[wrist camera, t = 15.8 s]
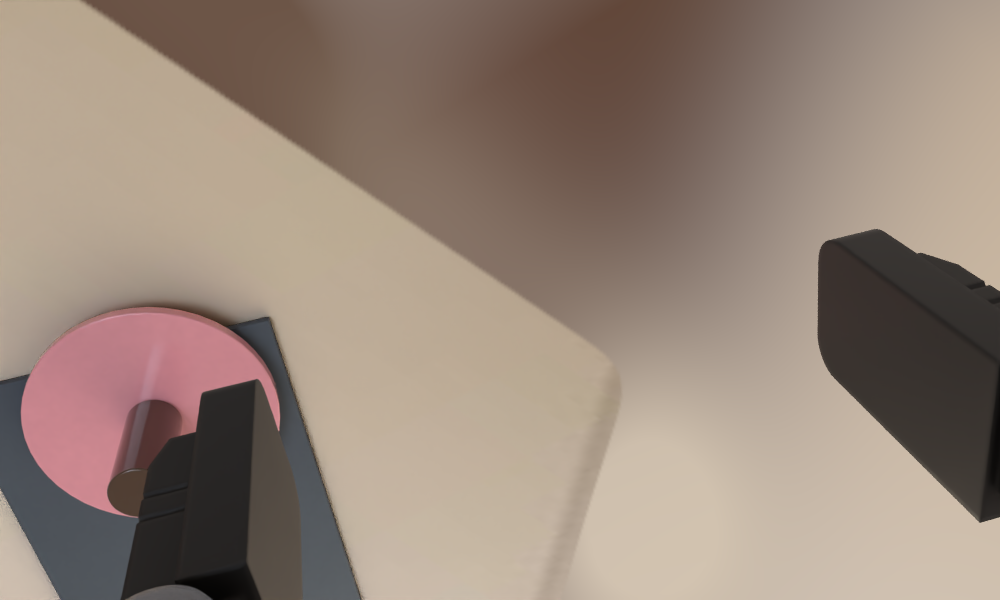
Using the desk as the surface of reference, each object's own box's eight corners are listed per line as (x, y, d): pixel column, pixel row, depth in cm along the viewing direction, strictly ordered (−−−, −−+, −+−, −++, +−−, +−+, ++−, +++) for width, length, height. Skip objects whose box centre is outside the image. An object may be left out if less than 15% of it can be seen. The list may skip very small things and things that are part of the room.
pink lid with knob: (-16, 334, 39) (-65, 417, 34) (241, 274, 40) (234, 344, 35) (81, 528, 45) (52, 627, 39) (306, 469, 46) (309, 557, 40)
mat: (-47, 392, 41) (-50, 397, 40) (268, 315, 42) (268, 320, 42) (116, 693, 50) (114, 699, 50) (369, 622, 52) (369, 628, 51)
